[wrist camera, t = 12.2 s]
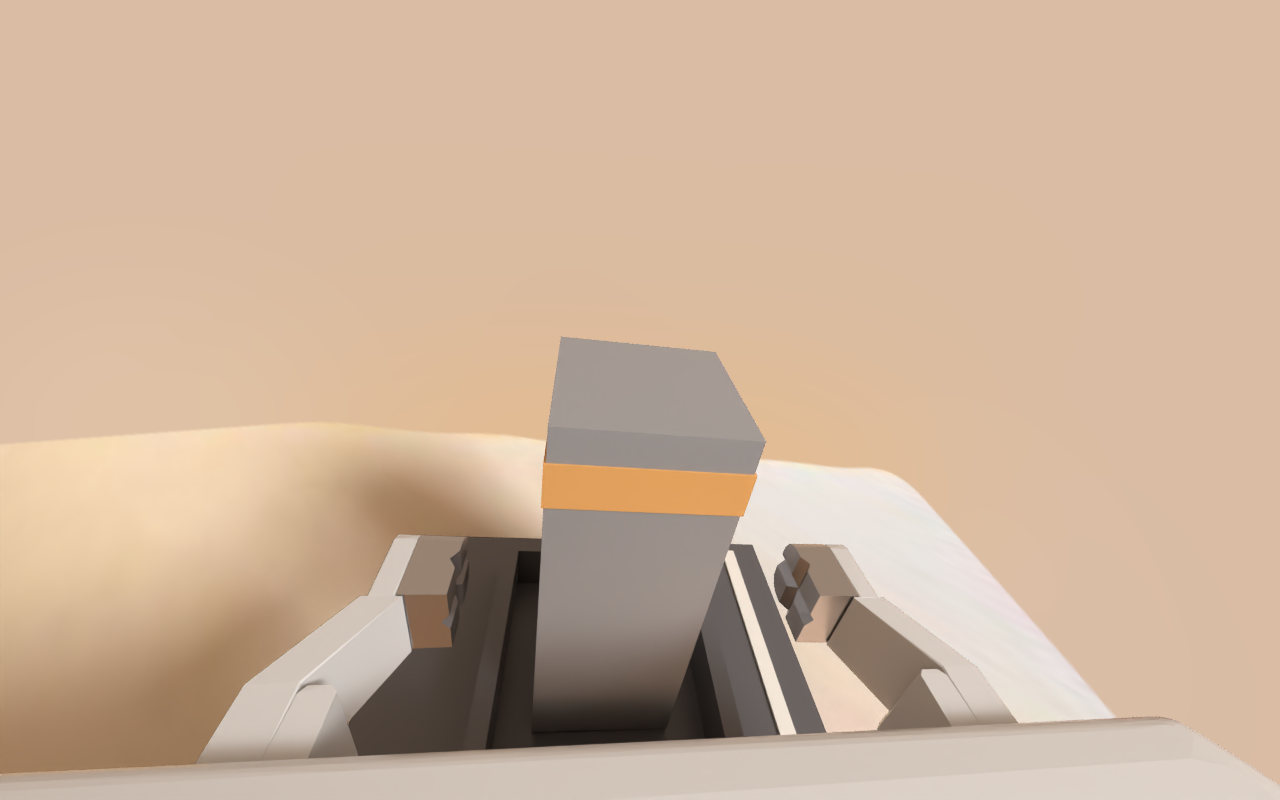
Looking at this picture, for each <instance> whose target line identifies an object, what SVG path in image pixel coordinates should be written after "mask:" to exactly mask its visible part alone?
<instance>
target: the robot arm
mask: <svg viewBox="0 0 1280 800" xmlns="http://www.w3.org/2000/svg"><path fill="white" fill-rule="evenodd" d="M467 550H468V542H467V538H466V537H454V536H433V535H405V534H399V535H398V536H397V537H396V538H395V539H394V540H393V542H392V544H391V546H390V548H389V550H388V553H387V555H386V557H385V559H384V561H383V563H382V565H381V567H380V569H379V572H378V574H377V576H376V578H375V580H374V582H373V584H372V586H371V588H370V591H369V593H368V595H367V596H359V597H358V598H356V599H355V600H354V601H352V602H351V603H350V604H348V605H347V606H346V607H345V608H343V609H342V610H341V611H339V612H338V613H337V614H335V615H334V616H333V617H332V618H330V619H329V620H328V621H326V622H325V623H324V624H322V625H321V626H320V627H319V628H317V629H316V630H315V631H313V632H312V633H311V634H309V635H308V636H307V637H306V638H304V639H303V640H302V641H300V642H299V643H298V644H296V645H295V646H294V647H293V648H291V649H290V650H289V651H287V652H286V653H285V654H283V655H282V656H281V657H279V658H278V659H277V660H276V661H274V662H273V663H272V664H270V665H269V666H268V667H266V668H265V669H264V670H263V671H261V672H260V673H259V674H257V675H256V676H255V677H253V678H252V679H251V680H250V681H248V682H247V683H246V684H244V686H243V687H242V689H241V691H240V692H239V694H238V695H237V697H236V699H235V700H234V702H233V703H232V705H231V707H230V708H229V710H228V712H227V713H226V715H225V716H224V718H223V720H222V721H221V723H220V724H219V726H218V728H217V729H216V731H215V732H214V734H213V736H212V737H211V739H210V740H209V742H208V744H207V745H206V747H205V748H204V750H203V752H202V753H201V755H200V756H199V758H198V760H197V761H196V763H195V764H189V765H168V766H148V767H127V768H107V769H86V770H65V771H45V772H24V773H3V774H0V800H1280V785H1279V784H1277V783H1276V782H1274V781H1273V780H1271V779H1270V778H1268V777H1267V776H1265V775H1264V774H1263V773H1261V772H1260V771H1258V770H1257V769H1255V768H1253V767H1252V766H1250V765H1249V764H1247V763H1246V762H1244V761H1243V760H1241V759H1239V758H1238V757H1236V756H1235V755H1233V754H1232V753H1230V752H1228V751H1226V750H1225V749H1224V748H1222V747H1220V746H1219V745H1217V744H1216V743H1214V742H1213V741H1211V740H1209V739H1208V738H1206V737H1205V736H1203V735H1201V734H1199V733H1198V732H1196V731H1194V730H1192V729H1191V728H1189V727H1187V726H1185V725H1183V724H1181V723H1180V722H1178V721H1175V720H1172V719H1169V718H1164V717H1132V718H1112V719H1092V720H1072V721H1052V722H1032V723H1018V722H1017V721H1016V720H1015V718H1014V717H1013V715H1012V714H1011V713H1010V711H1009V710H1008V709H1007V707H1006V706H1005V704H1004V703H1003V702H1002V700H1001V699H1000V698H999V696H998V695H997V693H996V692H995V691H994V689H993V688H992V687H991V685H990V684H989V682H988V681H987V680H986V678H985V677H984V676H983V674H982V673H981V672H980V670H979V669H978V667H977V666H975V665H974V664H973V663H971V662H970V661H969V660H967V659H966V658H965V657H963V656H962V655H960V654H959V653H958V652H956V651H955V650H954V649H952V648H951V647H950V646H948V645H947V644H946V643H944V642H943V641H942V640H940V639H939V638H938V637H936V636H935V635H934V634H932V633H931V632H929V631H928V630H927V629H925V628H924V627H923V626H921V625H920V624H919V623H917V622H916V621H915V620H913V619H912V618H911V617H909V616H908V615H907V614H905V613H904V612H902V611H901V610H900V609H898V608H897V607H896V606H894V605H893V604H892V603H890V602H889V601H888V600H886V599H885V598H884V597H878V596H877V595H876V593H875V591H874V590H873V588H872V587H871V585H870V583H869V582H868V580H867V579H866V577H865V576H864V574H863V572H862V571H861V569H860V568H859V566H858V565H857V563H856V561H855V560H854V558H853V557H852V555H851V554H850V552H849V550H848V549H847V548H846V547H845V546H843V545H822V544H789V545H788V546H786V547H785V550H784V552H783V556H784V558H785V560H784V561H783V562H781V563H780V564H779V565H777V568H776V571H775V573H774V587H775V592H776V595H777V598H778V600H779V602H780V603H781V604H782V605H783V606H784V607H785V608H786V609H788V611H787V615H786V620H787V622H788V625H789V627H790V629H791V632H792V634H793V637H794V639H795V641H796V642H822V643H827V645H828V646H829V647H830V649H831V650H832V651H833V652H834V653H835V654H836V655H837V656H838V657H839V658H840V659H841V660H842V661H843V662H844V663H845V664H846V665H847V667H848V668H849V669H850V670H851V671H852V672H853V673H854V674H855V675H856V676H857V677H858V678H859V679H860V680H861V681H862V682H863V683H864V684H865V686H866V687H867V688H868V689H869V690H870V691H871V692H872V693H873V694H874V695H875V696H876V697H877V698H878V699H879V700H880V701H881V702H882V704H883V705H884V706H885V707H886V708H887V709H888V710H889V712H888V713H887V714H886V715H885V717H884V718H883V719H882V720H881V722H880V723H879V725H878V728H877V729H878V730H873V731H853V732H833V733H813V734H792V735H771V736H751V737H730V738H710V739H689V740H669V741H649V742H630V743H610V744H590V745H570V746H550V747H529V748H509V749H489V750H469V751H449V752H429V753H409V754H389V755H369V756H358V753H357V750H356V747H355V744H354V741H353V738H352V735H351V732H350V729H349V726H348V723H347V722H348V721H349V720H350V719H351V718H352V717H353V716H354V715H355V714H356V712H357V711H358V710H359V709H360V708H361V707H362V706H363V705H364V704H365V702H366V701H367V700H368V699H369V698H370V697H371V696H372V695H373V694H374V692H375V691H376V690H377V689H378V688H379V687H380V686H381V685H382V684H383V682H384V681H385V680H386V679H387V678H388V677H389V676H390V675H391V674H392V672H393V671H394V670H395V669H396V668H397V667H398V666H399V665H400V664H401V662H402V661H403V660H404V659H405V658H406V657H407V656H408V655H409V654H410V652H411V651H412V650H411V649H415V648H439V647H452V645H453V642H454V638H455V634H456V630H457V626H458V623H459V606H460V605H461V604H462V603H463V602H464V600H465V595H466V591H467V586H468V579H469V560H468V559H467V558H465V557H466V554H467Z"/></svg>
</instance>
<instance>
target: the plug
mask: <svg viewBox="0 0 1280 800" xmlns="http://www.w3.org/2000/svg"><path fill="white" fill-rule="evenodd" d="M765 443H766V441H765V439H764V437H763V435H762V434H761V432H760V430H759V428H758V427H757V425H756V423H755V421H754V419H753V418H752V416H751V414H750V412H749V411H748V409H747V407H746V405H745V404H744V402H743V400H742V398H741V397H740V395H739V393H738V391H737V390H736V388H735V386H734V384H733V382H732V381H731V379H730V377H729V375H728V374H727V372H726V370H725V368H724V366H723V365H722V363H721V361H720V359H719V358H718V356H717V354H716V352H709V351H699V350H689V349H679V348H668V347H658V346H649V345H639V344H629V343H618V342H608V341H598V340H588V339H578V338H567V337H561V341H560V348H559V355H558V361H557V368H556V375H555V382H554V389H553V396H552V402H551V410H550V416H549V423H548V435H547V442H546V449H545V456H544V463H543V479H542V499H541V508H543V527H542V545H541V564H540V582H539V600H538V619H537V637H536V656H535V674H534V692H533V711H532V729H531V732H558V731H589V730H619V729H649V728H666V727H667V725H668V722H669V719H670V716H671V713H672V710H673V707H674V705H675V702H676V699H677V696H678V693H679V690H680V687H681V684H682V682H683V679H684V676H685V673H686V670H687V667H688V664H689V661H690V659H691V656H692V653H693V650H694V647H695V644H696V641H697V638H698V636H699V633H700V630H701V627H702V624H703V621H704V618H705V615H706V613H707V610H708V607H709V604H710V601H711V598H712V595H713V592H714V590H715V587H716V584H717V581H718V578H719V575H720V572H721V569H722V567H723V564H724V561H725V558H726V555H727V552H728V549H729V546H730V544H731V541H732V538H733V535H734V532H735V529H736V526H737V523H738V521H739V518H740V516H742V517H743V516H744V513H745V510H746V507H747V504H748V501H749V499H750V496H751V493H752V490H753V487H754V484H755V482H756V479H757V475H756V473H755V472H756V469H757V466H758V463H759V460H760V457H761V454H762V452H763V448H764V446H765Z"/></svg>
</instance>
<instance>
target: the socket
mask: <svg viewBox="0 0 1280 800" xmlns="http://www.w3.org/2000/svg"><path fill="white" fill-rule="evenodd" d="M454 537H458V536H454ZM466 538H467V542H468V550H467V554H466V557H465V558H467V559H468V560H469V579H468V586H467V591H466V595H465V600H464V602H463V603H462V604H461V605H460V606H459V623H458V626H457V630H456V634H455V638H454V642H453V645H452V647H439V648H415V649H411V650H412V651H411V652H410V654H409V655H408V656H407V657H406V658H405V659H404V660H403V661H402V662H401V664H400V665H399V666H398V667H397V668H396V669H395V670H394V671H393V672H392V674H391V675H390V676H389V677H388V678H387V679H386V680H385V681H384V682H383V684H382V685H381V686H380V687H379V688H378V689H377V690H376V691H375V692H374V694H373V695H372V696H371V697H370V698H369V699H368V700H367V701H366V702H365V704H364V705H363V706H362V707H361V708H360V709H359V710H358V711H357V712H356V714H355V715H354V716H353V717H352V718H351V720H350V722H349V725H348V726H349V729H350V732H351V735H352V738H353V741H354V744H355V747H356V750H357V753H358V756H369V755H389V754H409V753H429V752H449V751H469V750H489V749H509V748H529V747H550V746H570V745H590V744H610V743H630V742H649V741H669V740H689V739H710V738H730V737H751V736H771V735H792V734H813V733H826V730H825V728H824V725H823V723H822V720H821V718H820V715H819V713H818V710H817V707H816V705H815V702H814V700H813V697H812V695H811V692H810V690H809V687H808V685H807V682H806V680H805V677H804V675H803V672H802V670H801V667H800V664H799V662H798V659H797V657H796V654H795V652H794V649H793V647H792V644H791V642H790V639H789V637H788V634H787V632H786V629H785V627H784V624H783V621H782V619H781V616H780V614H779V611H778V609H777V606H776V604H775V601H774V599H773V596H772V594H771V591H770V589H769V586H768V584H767V581H766V578H765V576H764V573H763V571H762V568H761V566H760V563H759V561H758V558H757V556H756V553H755V551H754V548H753V546H752V545H742V544H730V546H729V549H728V552H727V555H726V558H725V561H724V564H723V567H722V569H721V572H720V575H719V578H718V581H717V584H716V587H715V590H714V592H713V595H712V598H711V601H710V604H709V607H708V610H707V613H706V615H705V618H704V621H703V624H702V627H701V630H700V633H699V636H698V638H697V641H696V644H695V647H694V650H693V653H692V656H691V659H690V661H689V664H688V667H687V670H686V673H685V676H684V679H683V682H682V684H681V687H680V690H679V693H678V696H677V699H676V702H675V705H674V707H673V710H672V713H671V716H670V719H669V722H668V725H667V727H666V728H649V729H619V730H589V731H558V732H531V729H532V711H533V692H534V674H535V656H536V637H537V619H538V600H539V582H540V564H541V545H542V539H529V538H493V537H466Z"/></svg>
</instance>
